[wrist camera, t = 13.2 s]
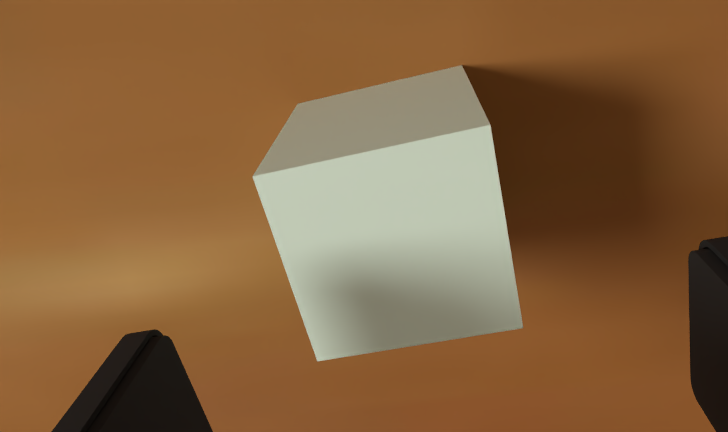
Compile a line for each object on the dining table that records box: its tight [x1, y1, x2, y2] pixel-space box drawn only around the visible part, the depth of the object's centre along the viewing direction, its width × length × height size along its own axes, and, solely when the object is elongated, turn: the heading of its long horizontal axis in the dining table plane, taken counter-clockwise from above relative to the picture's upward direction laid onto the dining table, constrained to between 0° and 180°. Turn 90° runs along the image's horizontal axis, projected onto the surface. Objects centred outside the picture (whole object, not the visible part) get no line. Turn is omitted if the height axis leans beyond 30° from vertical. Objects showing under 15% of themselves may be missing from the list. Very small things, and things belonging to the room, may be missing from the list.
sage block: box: [253, 65, 523, 361], centre depth 16 cm, size 5×5×6 cm
